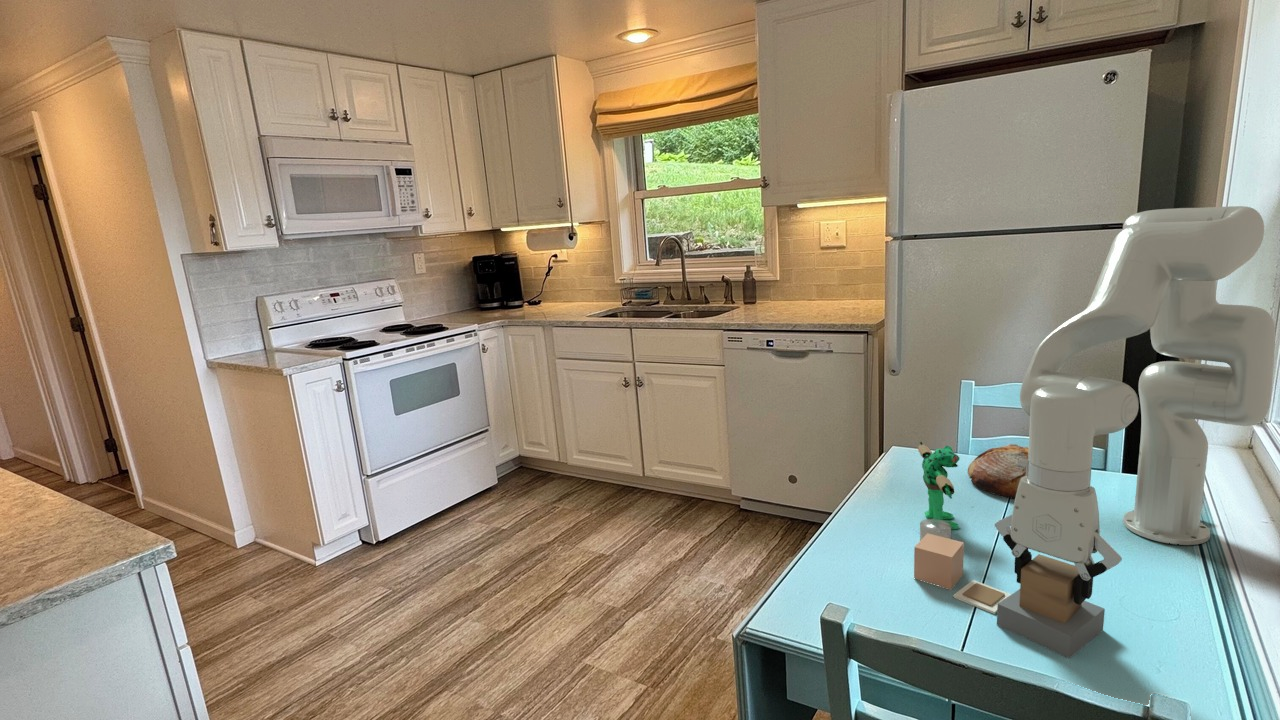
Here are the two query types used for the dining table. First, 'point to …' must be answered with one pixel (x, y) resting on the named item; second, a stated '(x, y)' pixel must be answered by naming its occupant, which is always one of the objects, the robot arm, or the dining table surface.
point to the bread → (999, 470)
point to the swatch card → (981, 596)
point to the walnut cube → (1049, 588)
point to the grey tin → (935, 528)
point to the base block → (1051, 625)
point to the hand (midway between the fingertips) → (1051, 588)
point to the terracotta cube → (938, 560)
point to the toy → (938, 480)
